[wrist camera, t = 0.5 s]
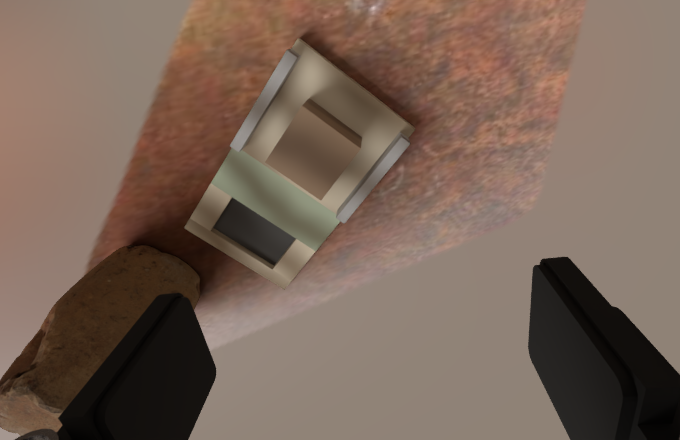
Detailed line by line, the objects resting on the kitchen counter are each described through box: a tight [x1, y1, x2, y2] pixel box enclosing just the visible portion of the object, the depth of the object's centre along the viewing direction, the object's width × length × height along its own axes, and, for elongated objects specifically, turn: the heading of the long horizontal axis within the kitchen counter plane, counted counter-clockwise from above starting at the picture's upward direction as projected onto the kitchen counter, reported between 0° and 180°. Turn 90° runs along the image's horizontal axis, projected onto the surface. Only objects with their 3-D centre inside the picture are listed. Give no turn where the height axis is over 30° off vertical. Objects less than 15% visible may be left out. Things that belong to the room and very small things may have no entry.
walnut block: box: [265, 98, 362, 200], centre depth 35 cm, size 6×6×4 cm
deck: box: [184, 38, 415, 290], centre depth 39 cm, size 23×13×3 cm, turn 144°
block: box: [0, 245, 200, 436], centre depth 38 cm, size 11×8×20 cm
